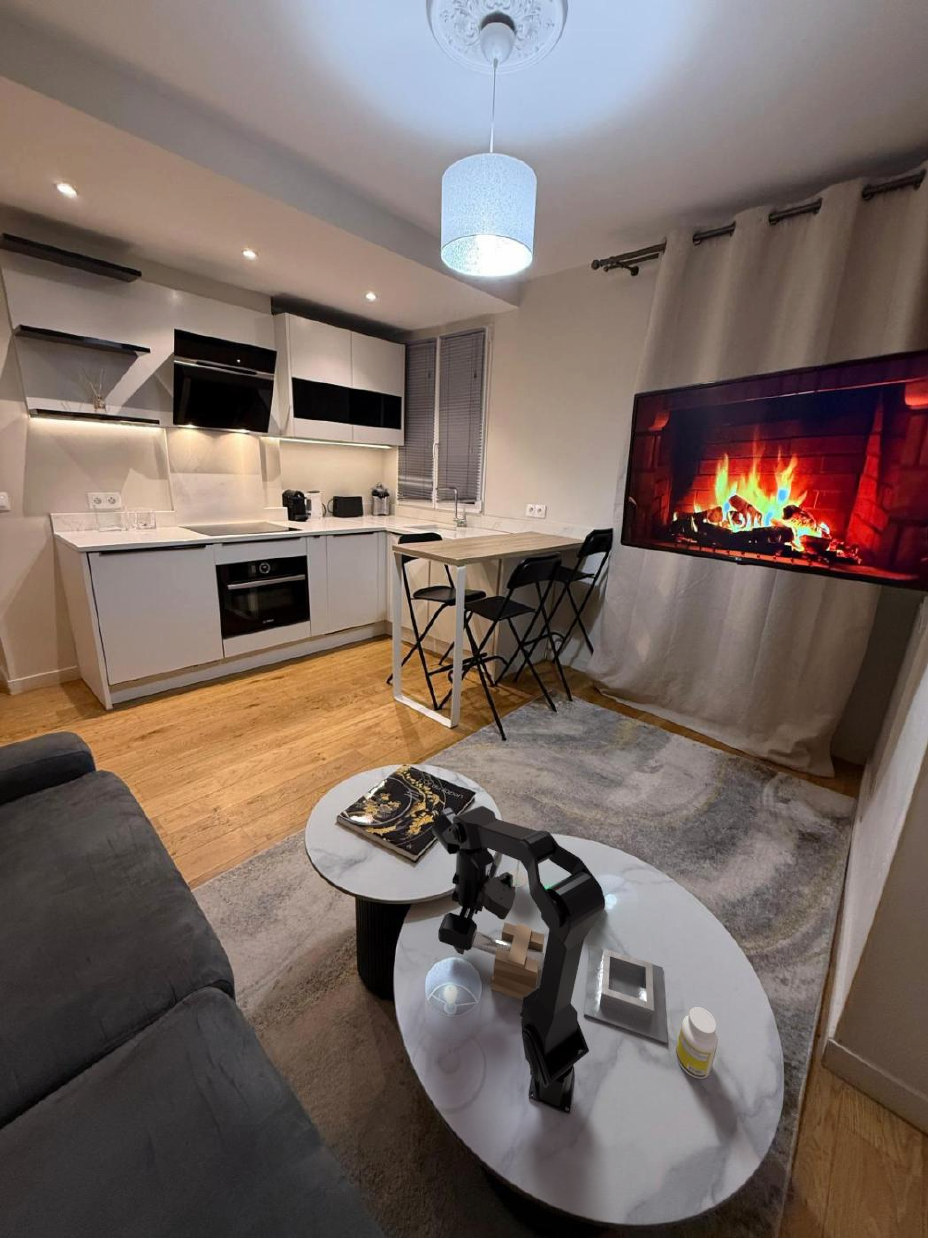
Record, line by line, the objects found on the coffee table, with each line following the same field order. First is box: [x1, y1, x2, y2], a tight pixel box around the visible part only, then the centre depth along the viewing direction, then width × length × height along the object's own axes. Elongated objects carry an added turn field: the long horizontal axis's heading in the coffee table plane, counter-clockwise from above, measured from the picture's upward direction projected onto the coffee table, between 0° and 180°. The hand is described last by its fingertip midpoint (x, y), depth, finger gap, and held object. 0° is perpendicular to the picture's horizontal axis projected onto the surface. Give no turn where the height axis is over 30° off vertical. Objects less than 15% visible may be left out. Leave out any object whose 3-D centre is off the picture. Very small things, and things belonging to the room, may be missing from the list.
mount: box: [490, 921, 545, 1001], centre depth 94 cm, size 10×8×7 cm
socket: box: [583, 944, 668, 1046], centre depth 92 cm, size 14×14×4 cm
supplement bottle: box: [675, 1006, 719, 1080], centre depth 80 cm, size 5×5×10 cm
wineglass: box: [508, 859, 528, 888], centre depth 115 cm, size 7×7×12 cm
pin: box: [472, 931, 545, 971], centre depth 95 cm, size 18×3×3 cm, turn 72°
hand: (468, 932), depth 97 cm, fingers open, 9 cm apart
